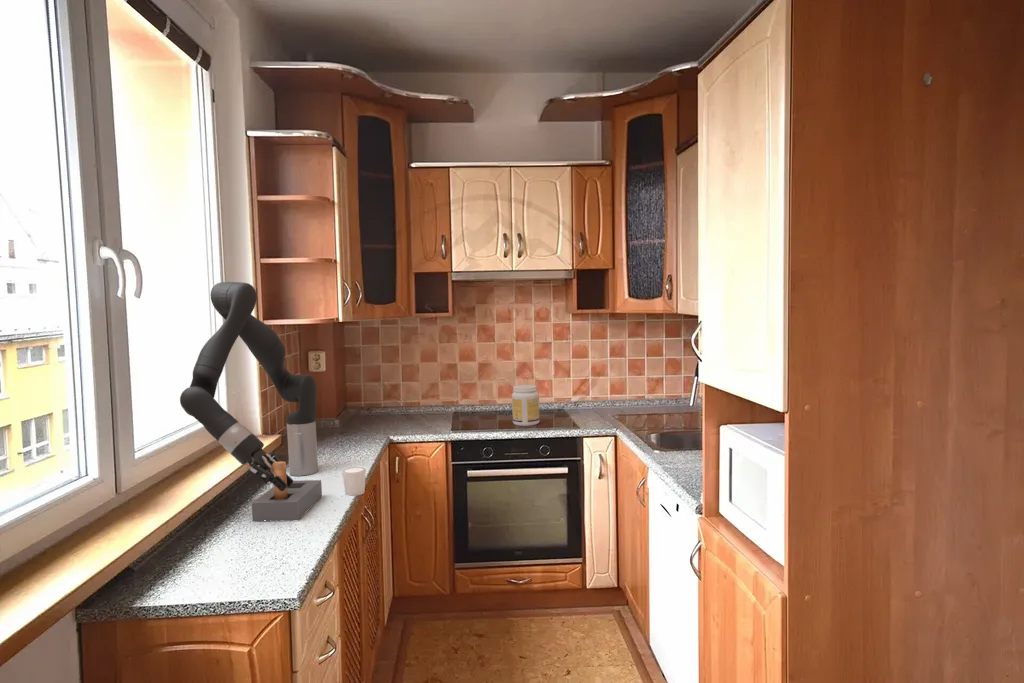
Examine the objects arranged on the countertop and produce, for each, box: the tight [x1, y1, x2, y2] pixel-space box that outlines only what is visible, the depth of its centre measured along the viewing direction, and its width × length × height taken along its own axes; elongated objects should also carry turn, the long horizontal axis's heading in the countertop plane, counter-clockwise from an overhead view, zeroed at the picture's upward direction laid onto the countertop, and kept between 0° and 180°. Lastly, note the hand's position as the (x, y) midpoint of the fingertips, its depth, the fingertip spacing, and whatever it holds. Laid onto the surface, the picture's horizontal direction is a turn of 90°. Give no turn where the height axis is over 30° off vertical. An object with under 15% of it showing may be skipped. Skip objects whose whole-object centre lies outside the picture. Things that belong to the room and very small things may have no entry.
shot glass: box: [341, 466, 367, 497], centre depth 190 cm, size 7×7×7 cm
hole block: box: [251, 479, 323, 522], centre depth 178 cm, size 20×12×5 cm, turn 179°
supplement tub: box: [511, 384, 540, 427], centre depth 285 cm, size 12×12×17 cm
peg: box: [272, 461, 288, 500], centre depth 172 cm, size 3×3×12 cm
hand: (287, 486), depth 172 cm, fingers open, 3 cm apart
